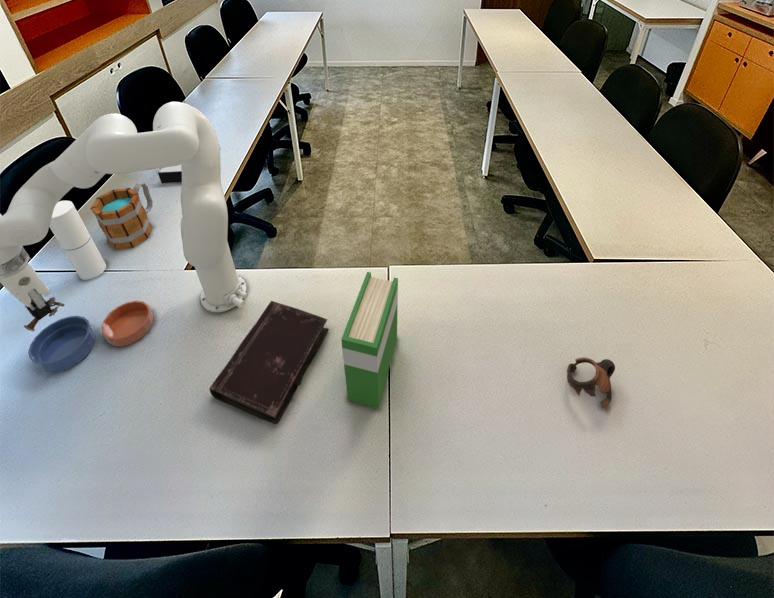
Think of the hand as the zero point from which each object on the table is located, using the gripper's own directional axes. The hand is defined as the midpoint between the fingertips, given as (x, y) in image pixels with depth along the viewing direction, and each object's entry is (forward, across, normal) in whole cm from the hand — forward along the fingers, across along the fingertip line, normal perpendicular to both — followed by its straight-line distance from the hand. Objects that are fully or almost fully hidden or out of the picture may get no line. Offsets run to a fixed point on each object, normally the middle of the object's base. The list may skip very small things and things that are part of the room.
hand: (42, 313), depth 101 cm
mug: (+15, +25, -36) cm, 46 cm away
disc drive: (+15, +39, -70) cm, 82 cm away
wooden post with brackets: (+2, 0, 0) cm, 2 cm away
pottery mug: (+14, -118, -57) cm, 132 cm away
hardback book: (+15, -71, -35) cm, 80 cm away
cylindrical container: (+15, +20, -18) cm, 31 cm away
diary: (+15, -49, -24) cm, 56 cm away
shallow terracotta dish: (+15, -8, -12) cm, 20 cm away
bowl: (+15, 0, 0) cm, 15 cm away
